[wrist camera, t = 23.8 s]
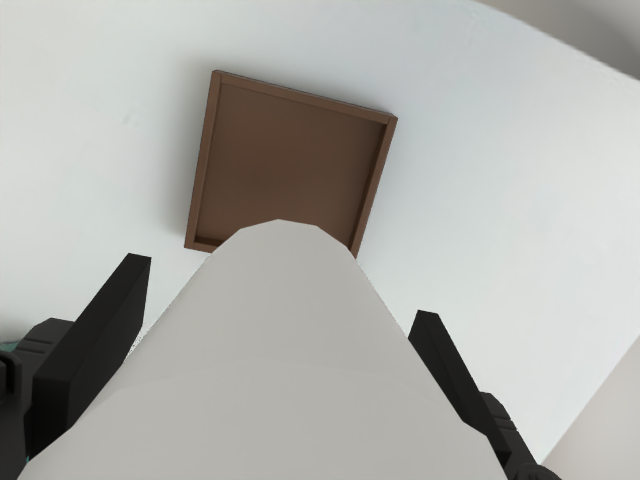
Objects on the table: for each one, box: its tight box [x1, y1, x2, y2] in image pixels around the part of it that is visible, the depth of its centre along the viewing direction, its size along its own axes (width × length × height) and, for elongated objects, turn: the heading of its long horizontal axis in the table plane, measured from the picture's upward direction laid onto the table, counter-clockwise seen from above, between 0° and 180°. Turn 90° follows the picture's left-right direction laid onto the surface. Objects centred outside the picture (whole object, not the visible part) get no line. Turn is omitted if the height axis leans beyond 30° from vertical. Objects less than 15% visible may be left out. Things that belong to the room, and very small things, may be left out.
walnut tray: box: [184, 70, 398, 260], centre depth 34 cm, size 12×12×2 cm
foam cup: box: [17, 219, 508, 480], centre depth 13 cm, size 10×9×13 cm
